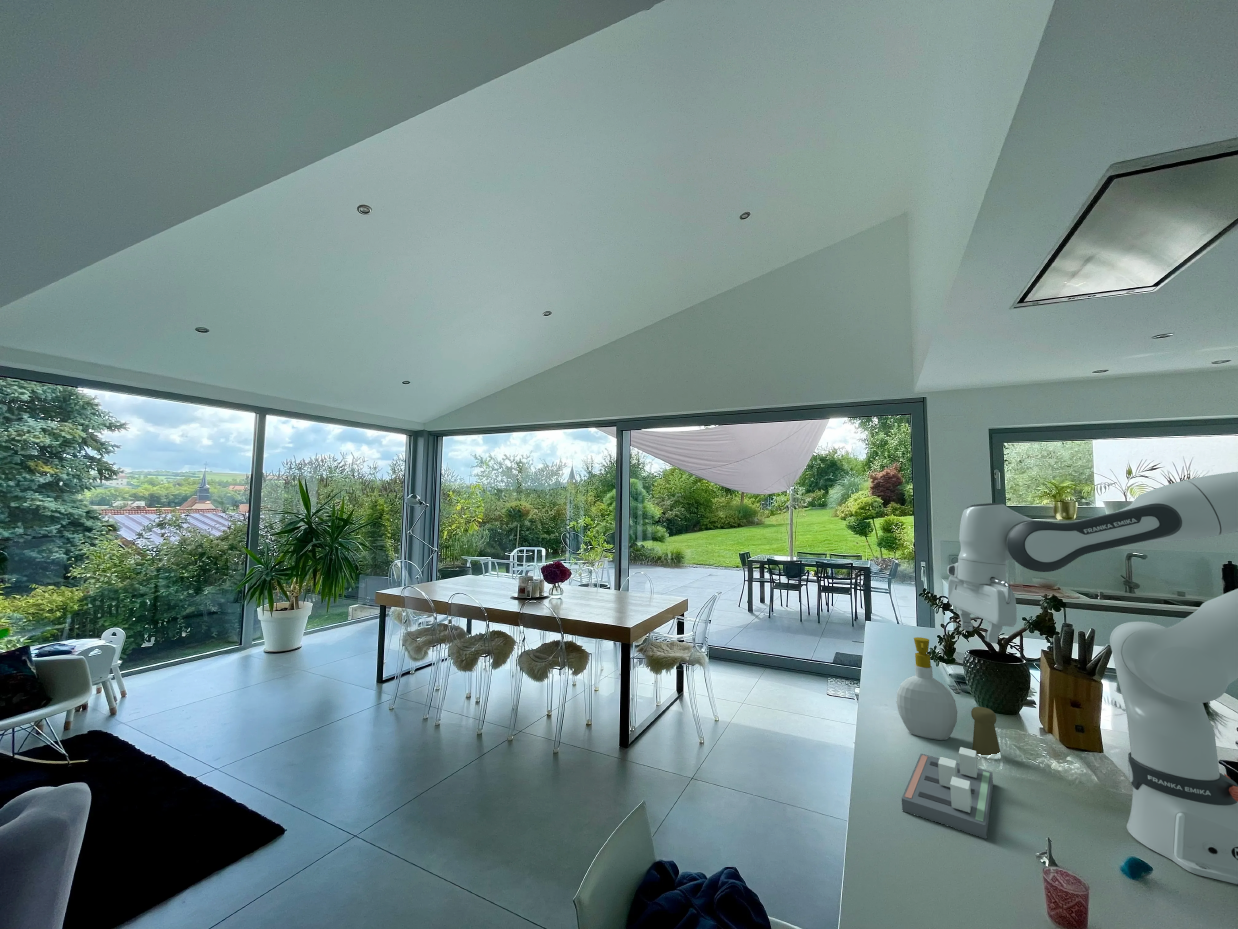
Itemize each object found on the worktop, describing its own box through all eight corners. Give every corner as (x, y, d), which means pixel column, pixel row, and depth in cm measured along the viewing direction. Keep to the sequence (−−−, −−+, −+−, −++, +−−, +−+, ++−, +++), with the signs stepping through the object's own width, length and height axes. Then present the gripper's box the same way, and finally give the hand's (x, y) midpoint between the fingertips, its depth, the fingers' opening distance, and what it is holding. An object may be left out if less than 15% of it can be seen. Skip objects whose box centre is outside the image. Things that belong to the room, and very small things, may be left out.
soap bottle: (898, 737, 134) (891, 639, 137) (898, 724, 142) (892, 632, 144) (961, 749, 127) (953, 646, 129) (958, 735, 135) (951, 638, 137)
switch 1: (977, 771, 111) (976, 750, 112) (976, 778, 108) (974, 757, 109) (961, 767, 113) (960, 747, 114) (960, 773, 110) (958, 753, 111)
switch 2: (971, 804, 99) (969, 781, 99) (970, 813, 96) (968, 789, 97) (953, 799, 101) (952, 776, 101) (951, 807, 98) (950, 784, 99)
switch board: (993, 783, 111) (992, 771, 111) (986, 839, 93) (985, 824, 93) (921, 764, 120) (920, 753, 120) (902, 811, 102) (901, 797, 102)
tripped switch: (958, 782, 107) (956, 760, 107) (956, 789, 104) (954, 767, 105) (941, 777, 109) (940, 756, 109) (939, 784, 106) (938, 763, 107)
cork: (1007, 760, 121) (1003, 714, 122) (979, 758, 122) (975, 712, 123) (993, 749, 127) (990, 704, 128) (967, 747, 128) (964, 703, 129)
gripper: (1027, 584, 100) (1025, 652, 99) (971, 568, 120) (968, 625, 120) (993, 580, 101) (990, 648, 100) (943, 565, 121) (940, 622, 120)
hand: (978, 635), depth 110 cm, fingers open, 8 cm apart
